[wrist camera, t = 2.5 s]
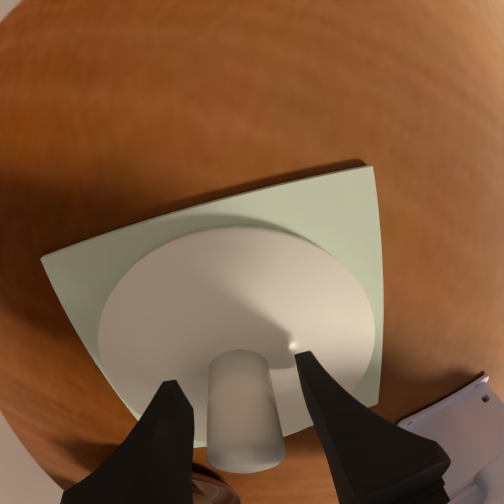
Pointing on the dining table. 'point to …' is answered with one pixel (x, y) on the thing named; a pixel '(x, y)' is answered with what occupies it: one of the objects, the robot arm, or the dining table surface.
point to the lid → (235, 334)
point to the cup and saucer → (212, 491)
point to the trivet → (237, 213)
